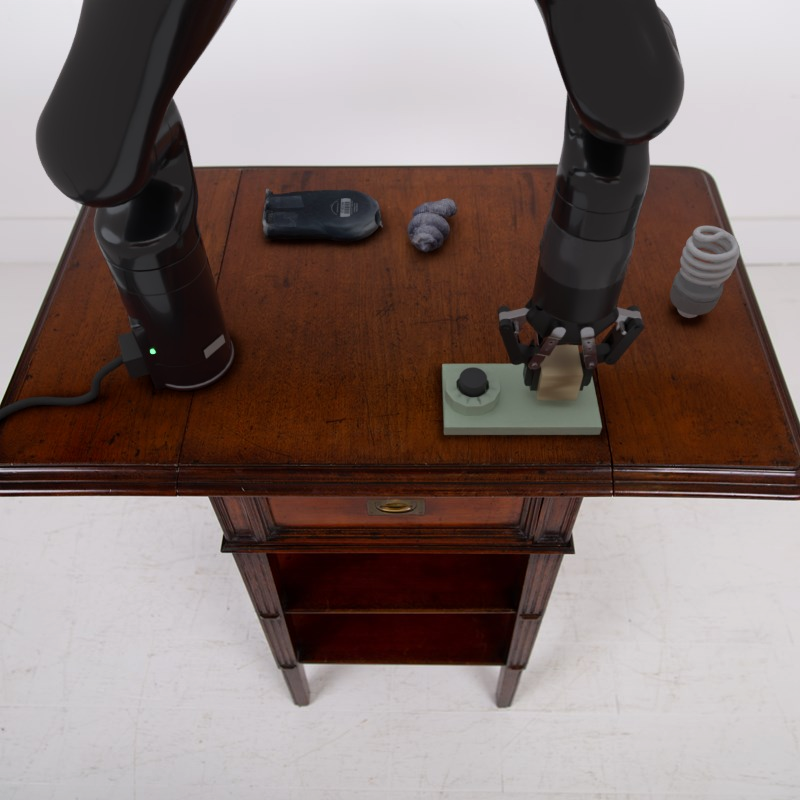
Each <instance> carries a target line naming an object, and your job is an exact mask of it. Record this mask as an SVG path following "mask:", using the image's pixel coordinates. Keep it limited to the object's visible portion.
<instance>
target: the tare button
mask: <svg viewBox="0 0 800 800" xmlns="http://www.w3.org/2000/svg"><path fill="white" fill-rule="evenodd" d="M486 384H487V375H486V373H485V372H484V371H483V370H481V369H479V368H475V367H471V368H467V369H465V370H463V371H462V372H461V374H460V380H459V389H460V391H461V392H462V393H463V394H464V395H466V396H469V397H478V396H480V395H482V394H483V393H484V392H485V390H486Z"/></svg>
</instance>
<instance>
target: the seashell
mask: <svg viewBox="0 0 800 800" xmlns="http://www.w3.org/2000/svg"><path fill="white" fill-rule="evenodd" d="M457 213H458V206H457V204H456V202H455V200H453V199H451V198H449V197H448V198H447V197H445V198H443V199H440V200H437V201H436V200H434V201H427V202H423V203H422V204H420V205H417V206H416V207H415V209H414V210H413V211H412V219H411V220H410V221H409V222H408V224H407V234H408V237H409V240H410V242H411V244H412V245H414V247H415V248H416V249H417V250H418V251H420V252H423V253H428V252H432V251H434V250H435V249H438V248H441V246H442V245H443V244H444V241H446V240H447V238H448V237H449V234H450V232H451V229H450V224H449V223H448V221H447V220H446V218H447V219H448V218H451V217H453V216H456V215H457Z"/></svg>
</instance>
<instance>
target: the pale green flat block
mask: <svg viewBox="0 0 800 800" xmlns="http://www.w3.org/2000/svg"><path fill="white" fill-rule="evenodd" d="M471 367H475V368H479V369H481V370H483V371H484V372H485V373H486V375H487V384H486V390H485V392H484V393H483V394H482V395H480V396H478V397H469V396H466V395H464V394H463V393H462V392H461V391H460V389H459V380H460V374H461V372H462V371H463V370H465V369H467V368H471ZM523 369H524V363H521V364H519V365H513V364H512V363H442V365H441V383H442V384H441V386H442V388H441V389H442V414H443V415H442V416H443V417H442V419H443V435H444V436H557V435H558V436H600V435H601V432H602V429H603V425H602V419H601V414H600V407H599V404H598V403H599V402H598V398H597V394H596V388H595V383H594V379H593V378H594V377H593V376H592V379H591V382H590V384H589V385H588V386H584V387H583V391H579V393H578V397H577V400H537V395H536V391H530V388H529V386H525V384H524V378H523Z"/></svg>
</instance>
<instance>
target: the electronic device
mask: <svg viewBox="0 0 800 800" xmlns="http://www.w3.org/2000/svg"><path fill="white" fill-rule="evenodd" d="M262 226H263V228H262V231H263V235H264V236H263V238H265V239H266V240H270V241H271V240H312V239H313V240H314V239H315V240H318V239H323V240H332V241H336V242H348V243H349V242H351V243H352V242H356V241H359V240H364V239H365V238H368V237H369V236H371V235H372V234H373V233H374V232H376V230H377V229H378V228H379V227H380V226H381V228H383V222H382V214H381V210H380V204H379V203H378V201H377V199H374V198H373V197H372V196H371V195H369V194H367V193H365V192H363V191H360V190H354V189H319V190H302V191H290V192H282V193H274V192H273V190H270V189H269V188H266V189H265V196H264V204H263V210H262Z"/></svg>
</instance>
